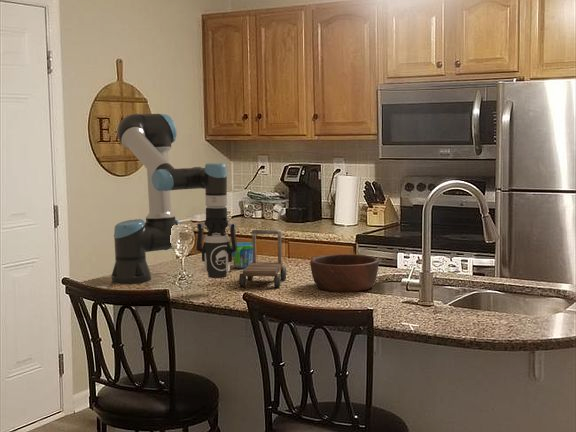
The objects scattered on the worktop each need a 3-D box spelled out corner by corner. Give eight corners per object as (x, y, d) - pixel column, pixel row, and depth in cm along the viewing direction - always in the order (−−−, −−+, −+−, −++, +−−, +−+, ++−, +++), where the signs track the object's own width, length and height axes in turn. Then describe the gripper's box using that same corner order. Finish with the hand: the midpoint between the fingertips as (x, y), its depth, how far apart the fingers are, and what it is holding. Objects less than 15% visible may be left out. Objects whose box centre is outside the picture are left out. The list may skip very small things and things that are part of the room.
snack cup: (247, 271, 317) (246, 247, 316) (224, 270, 321) (223, 246, 320) (261, 265, 332) (261, 241, 330) (239, 264, 335) (238, 240, 334)
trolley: (278, 288, 281) (277, 236, 279) (239, 288, 283) (238, 236, 281) (286, 278, 300) (285, 229, 297) (249, 278, 302) (248, 229, 300)
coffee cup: (232, 273, 280) (232, 233, 278) (228, 279, 270) (227, 237, 268) (206, 273, 281) (206, 232, 279) (201, 279, 271) (200, 236, 269)
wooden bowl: (343, 277, 300) (343, 251, 299) (392, 286, 282) (392, 259, 281) (296, 287, 284) (296, 259, 282) (346, 297, 265) (345, 268, 264)
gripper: (186, 207, 270) (187, 272, 273) (241, 208, 267) (242, 273, 270) (191, 205, 278) (193, 268, 280) (246, 206, 275) (246, 269, 277)
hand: (217, 270), depth 275 cm, fingers closed on coffee cup, 7 cm apart
